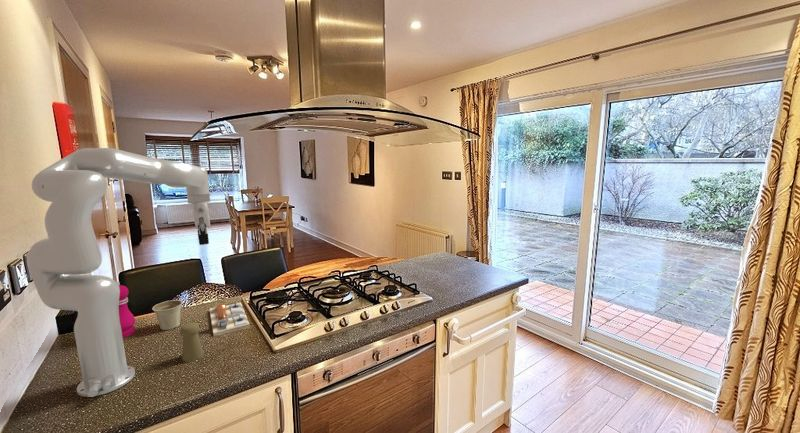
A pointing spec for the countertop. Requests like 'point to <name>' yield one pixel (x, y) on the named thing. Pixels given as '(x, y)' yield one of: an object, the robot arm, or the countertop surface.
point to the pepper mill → (125, 313)
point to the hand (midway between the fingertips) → (203, 241)
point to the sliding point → (224, 314)
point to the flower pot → (168, 314)
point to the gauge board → (229, 319)
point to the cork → (191, 342)
